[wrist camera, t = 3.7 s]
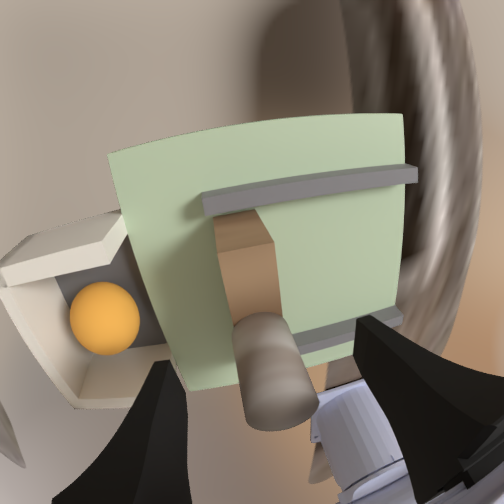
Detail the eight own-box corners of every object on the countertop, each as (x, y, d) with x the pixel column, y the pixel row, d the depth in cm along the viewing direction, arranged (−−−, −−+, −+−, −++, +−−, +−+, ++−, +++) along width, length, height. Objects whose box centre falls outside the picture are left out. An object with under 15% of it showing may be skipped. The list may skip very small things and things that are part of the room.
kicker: (276, 336, 17) (316, 450, 10) (237, 344, 17) (260, 464, 10) (259, 208, 14) (320, 307, 7) (208, 217, 14) (218, 329, 7)
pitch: (380, 332, 21) (408, 371, 17) (106, 387, 19) (96, 433, 15) (390, 113, 14) (443, 118, 10) (12, 188, 12) (-34, 214, 8)
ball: (112, 320, 17) (161, 328, 16) (77, 361, 14) (126, 377, 13) (89, 267, 16) (139, 268, 15) (45, 305, 12) (92, 315, 11)
